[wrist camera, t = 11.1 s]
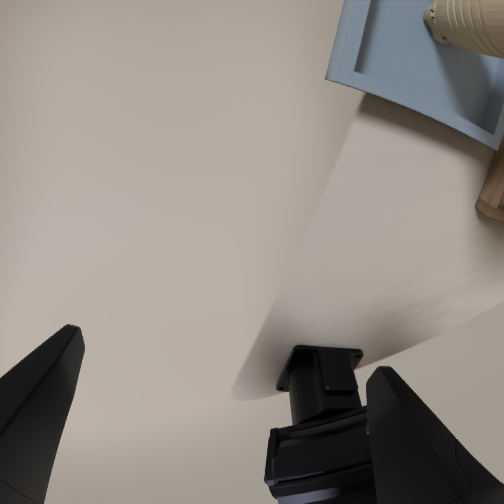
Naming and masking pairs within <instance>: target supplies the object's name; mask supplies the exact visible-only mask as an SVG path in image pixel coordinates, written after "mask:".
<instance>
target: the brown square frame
mask: <svg viewBox="0 0 504 504" xmlns="http://www.w3.org/2000/svg"><path fill="white" fill-rule="evenodd" d="M503 193H504V133H503V136H502V139H501V142H500V145H499V148H498V151H496V154H495V157H494V159H493V162H492V165H491V168H490V170H489V173H488V176H487V178H486V181H485V183H484V186H483V188H482V191H481V193H480V196H479V198H478V200H477V203H476V205H475V207H476V208H478V209H479V210H480V211H481V212H482V213H483V214H485V215H486V216H488V217H491V218H493V219H496V220H498V221H501V222H503V223H504V207H501V206H499V202H500V200H501V198H502V195H503Z"/></svg>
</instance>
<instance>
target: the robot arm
mask: <svg viewBox="0 0 504 504" xmlns="http://www.w3.org/2000/svg"><path fill="white" fill-rule="evenodd" d="M84 351H85V344H84V340H83V336H82V332H81V329H80V327H78V326H74V325H70V324H67V325H65V326H64V327H63V328H61V329H60V330H59V331H57V332H56V333H55V334H54V335H53V336H51V337H50V338H49V339H47V340H46V341H45V342H43V343H42V344H41V345H40V346H39V347H37V348H36V349H35V350H34V351H32V352H31V353H30V354H29V355H27V356H26V357H25V358H24V359H23V360H21V361H20V362H19V363H18V364H17V365H15V366H14V367H13V368H12V369H10V370H9V371H8V372H7V373H6V374H4V375H3V376H2V377H1V378H0V504H44V501H45V496H46V492H47V488H48V483H49V479H50V475H51V471H52V467H53V464H54V460H55V456H56V453H57V449H58V445H59V442H60V439H61V435H62V432H63V429H64V425H65V422H66V419H67V416H68V413H69V410H70V407H71V404H72V401H73V397H74V394H75V390H76V385H77V380H78V376H79V372H80V368H81V364H82V360H83V355H84ZM362 357H363V353H362V350H359V349H342V348H327V347H315V346H303V345H298V346H295V347H294V348H293V350H292V352H291V354H290V356H289V358H288V361H287V363H286V365H285V367H284V369H283V371H282V374H281V376H280V378H279V380H278V382H277V384H276V389H277V390H278V391H284V392H289V396H290V405H291V415H292V424H293V425H292V426H288V427H283V428H273V429H271V430H270V437H269V440H268V449H267V458H266V467H265V476H264V481H265V483H266V484H267V485H268V486H269V489H270V492H271V494H272V496H273V497H274V498H275V499H277V500H278V503H279V504H504V484H503V483H501V482H500V481H499V480H498V479H497V478H496V477H494V476H493V475H492V474H491V473H490V472H489V471H488V470H487V469H486V468H485V467H484V466H483V465H482V464H480V463H479V462H478V461H477V460H476V459H475V458H474V457H473V456H472V455H471V454H470V453H469V452H468V450H466V448H465V447H464V446H463V445H462V444H461V443H460V442H459V441H458V439H456V438H455V436H454V435H453V434H452V433H451V432H450V431H449V430H448V428H447V427H446V426H445V425H444V424H443V423H442V422H441V421H440V420H439V418H438V417H437V416H436V415H435V414H434V413H433V412H432V411H431V410H430V409H429V407H427V405H426V404H425V403H424V402H423V401H422V400H421V399H420V398H419V397H418V395H417V394H416V393H415V392H414V391H413V390H412V389H411V388H410V387H409V386H408V385H407V384H406V382H405V381H404V380H403V379H402V378H401V377H400V376H399V375H398V374H397V373H396V372H395V371H394V370H393V368H392V367H390V366H379V367H377V369H376V370H375V371H374V372H373V374H372V375H371V377H370V378H369V379H368V381H367V383H366V395H367V396H366V397H367V405H366V406H363V407H362V405H361V401H360V397H359V393H358V385H357V381H356V378H355V374H354V369H355V368H356V366H357V365H358V363H359V362H360V360H361V359H362ZM367 433H369V434H367Z"/></svg>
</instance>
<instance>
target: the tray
mask: <svg viewBox="0 0 504 504" xmlns="http://www.w3.org/2000/svg"><path fill="white" fill-rule="evenodd" d="M430 5H431V0H344V3H343V7H342V12H341V16H340V20H339V25H338V28H337V33H336V37H335V41H334V45H333V49H332V53H331V57H330V61H329V65H328V69H327V73H326V77H325V79H326V80H329V81H332V82H336V83H339V84H342V85H346V86H349V87H352V88H355V89H358V90H361V91H364V92H367V93H370V94H373V95H375V96H378V97H381V98H384V99H386V100H389V101H392V102H394V103H397V104H399V105H402V106H404V107H407V108H409V109H412V110H414V111H416V112H419V113H421V114H423V115H426V116H428V117H430V118H432V119H435V120H437V121H439V122H441V123H443V124H445V125H447V126H449V127H452V128H454V129H456V130H458V131H460V132H462V133H464V134H465V135H467V136H469V137H471V138H473V139H475V140H477V141H479V142H481V143H483V144H485V145H487V146H489V147H490V148H492V149H494V150H496V151H498V148H499V145H500V142H501V139H502V136H503V133H504V59H503V58H497V57H492V56H488V55H483V54H479V53H475V52H471V51H468V50H465V49H461V48H457V47H454V46H452V45H451V44H442V43H439V42H438V41H436V40H435V39H434V38H433V33H432V30H431V28H430V26H429V25H428V23H427V22H426V21H425V20H424V18H423V11H424V10H425V9H428V8H429V6H430Z"/></svg>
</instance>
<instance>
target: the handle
mask: <svg viewBox="0 0 504 504" xmlns="http://www.w3.org/2000/svg"><path fill="white" fill-rule="evenodd" d="M423 18H424V20H425V21H426V22H427V23H428V25H429V26H430V28H431V30H432V33H433V38H434V39H435V40H436V41H438V42H439V43H442V44H451V45H452V46H454V47H457V48H461V49H465V50H468V51H471V52H475V53H479V54H483V55H488V56H492V57H497V58H503V59H504V0H431V5H430V6H429V8H428V9H425V10H424V11H423Z"/></svg>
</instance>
